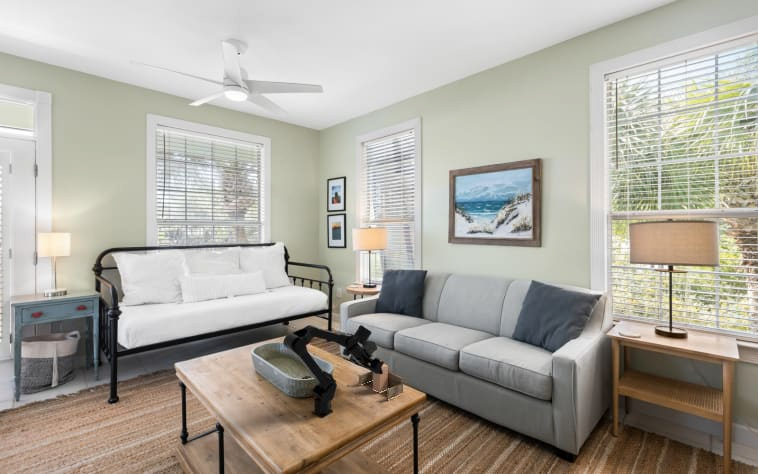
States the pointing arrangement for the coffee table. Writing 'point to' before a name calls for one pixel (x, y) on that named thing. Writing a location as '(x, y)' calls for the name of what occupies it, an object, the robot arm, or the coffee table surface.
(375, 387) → the terracotta block
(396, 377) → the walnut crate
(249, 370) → the coffee table surface
